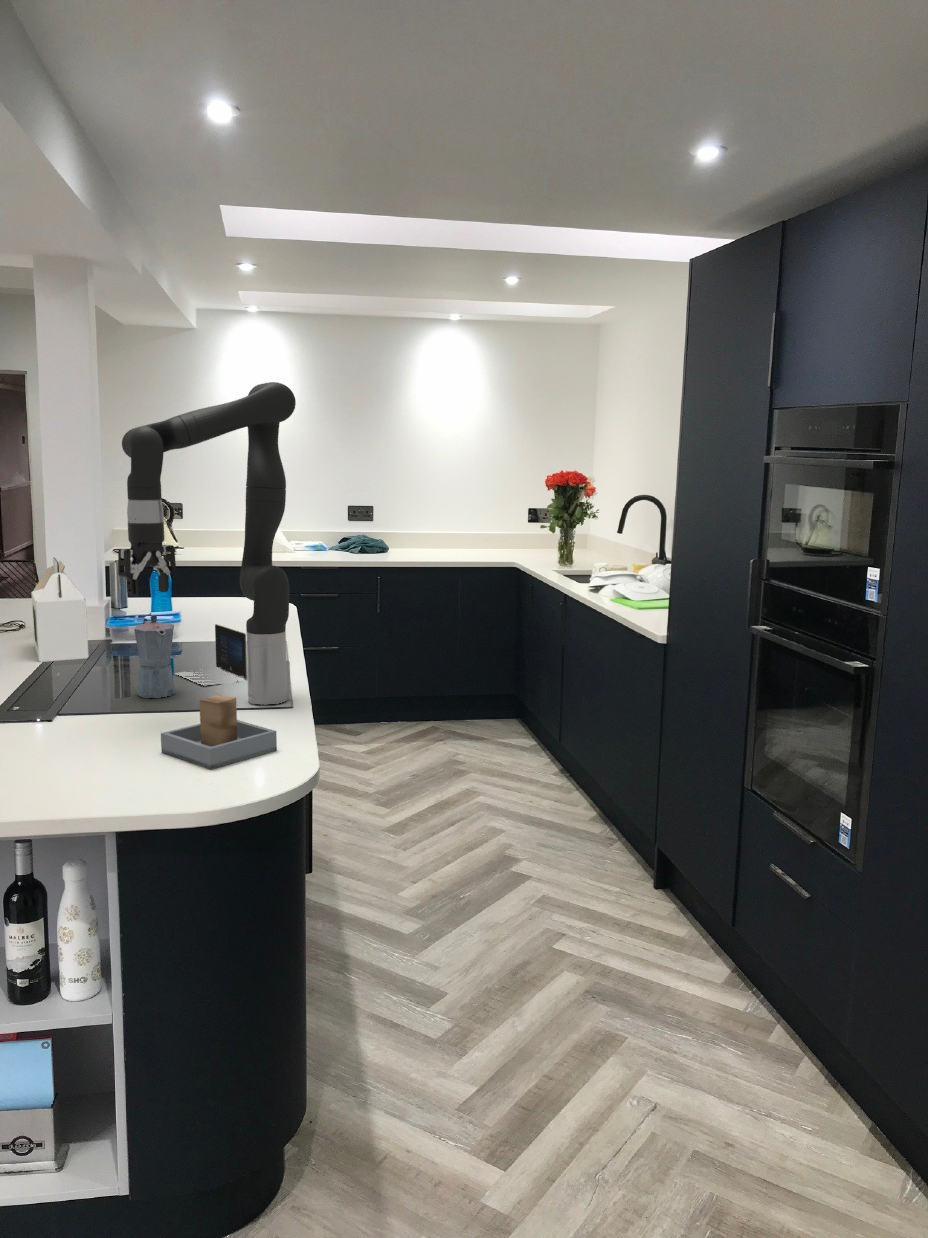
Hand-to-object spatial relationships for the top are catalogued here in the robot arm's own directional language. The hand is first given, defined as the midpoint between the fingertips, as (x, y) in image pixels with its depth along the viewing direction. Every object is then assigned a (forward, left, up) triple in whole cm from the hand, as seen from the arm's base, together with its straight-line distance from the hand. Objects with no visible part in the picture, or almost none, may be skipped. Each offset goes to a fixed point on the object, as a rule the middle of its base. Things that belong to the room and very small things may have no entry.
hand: (148, 593), depth 210 cm
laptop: (-32, -23, -29) cm, 49 cm away
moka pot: (-12, -18, -28) cm, 36 cm away
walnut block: (+6, +32, -27) cm, 42 cm away
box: (+6, +32, -28) cm, 43 cm away
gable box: (-22, -82, -28) cm, 89 cm away
